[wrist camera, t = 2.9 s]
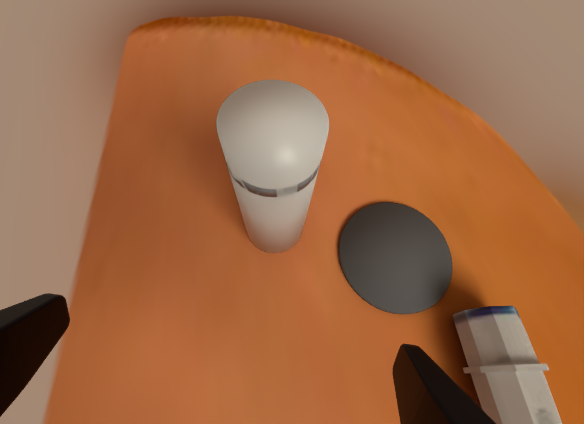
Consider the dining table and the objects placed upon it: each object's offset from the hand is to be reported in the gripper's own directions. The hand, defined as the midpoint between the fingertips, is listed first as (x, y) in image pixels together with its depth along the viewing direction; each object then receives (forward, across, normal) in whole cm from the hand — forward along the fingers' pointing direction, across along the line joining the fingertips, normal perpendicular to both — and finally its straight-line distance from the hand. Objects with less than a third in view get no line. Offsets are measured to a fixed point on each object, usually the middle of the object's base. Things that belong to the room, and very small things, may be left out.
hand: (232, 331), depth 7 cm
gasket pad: (+14, -10, +4) cm, 18 cm away
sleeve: (+15, 0, +4) cm, 16 cm away
